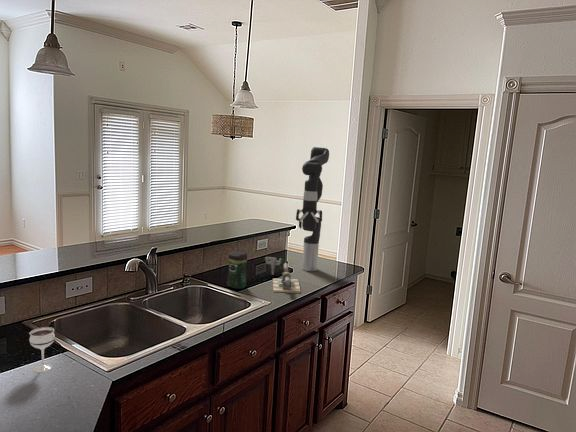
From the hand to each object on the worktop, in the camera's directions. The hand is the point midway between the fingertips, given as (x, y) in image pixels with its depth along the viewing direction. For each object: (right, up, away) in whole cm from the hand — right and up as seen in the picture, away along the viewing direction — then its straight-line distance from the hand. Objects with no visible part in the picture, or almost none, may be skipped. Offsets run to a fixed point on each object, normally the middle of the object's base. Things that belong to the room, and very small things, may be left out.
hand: (308, 228), depth 229 cm
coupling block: (-12, -30, -6) cm, 33 cm away
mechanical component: (-20, -27, +14) cm, 37 cm away
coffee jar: (-38, -30, -11) cm, 50 cm away
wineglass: (-87, -40, -100) cm, 139 cm away
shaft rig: (-12, -31, -6) cm, 34 cm away
